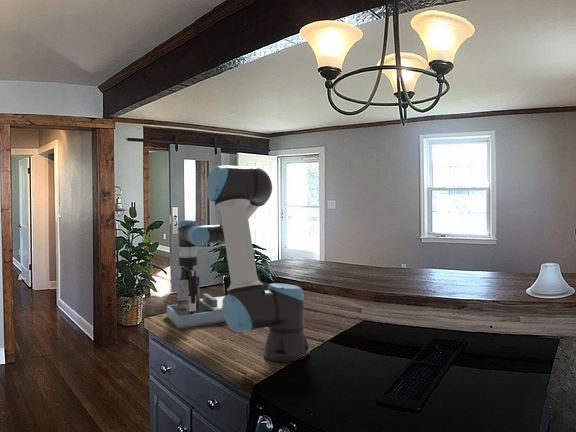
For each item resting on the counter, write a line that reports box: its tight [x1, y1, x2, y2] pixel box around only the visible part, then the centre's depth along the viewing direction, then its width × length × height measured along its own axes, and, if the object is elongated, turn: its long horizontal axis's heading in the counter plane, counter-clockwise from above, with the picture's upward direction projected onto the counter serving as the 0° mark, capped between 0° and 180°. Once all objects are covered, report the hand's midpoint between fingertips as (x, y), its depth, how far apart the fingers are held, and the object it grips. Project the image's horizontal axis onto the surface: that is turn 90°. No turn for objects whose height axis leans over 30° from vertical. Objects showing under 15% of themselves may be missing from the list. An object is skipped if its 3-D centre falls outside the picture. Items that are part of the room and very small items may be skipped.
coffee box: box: [176, 275, 200, 316], centre depth 185 cm, size 9×6×16 cm
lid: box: [199, 292, 226, 311], centre depth 193 cm, size 20×20×4 cm
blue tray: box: [166, 301, 227, 330], centre depth 187 cm, size 20×20×5 cm
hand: (188, 308), depth 185 cm, fingers closed on coffee box, 10 cm apart
